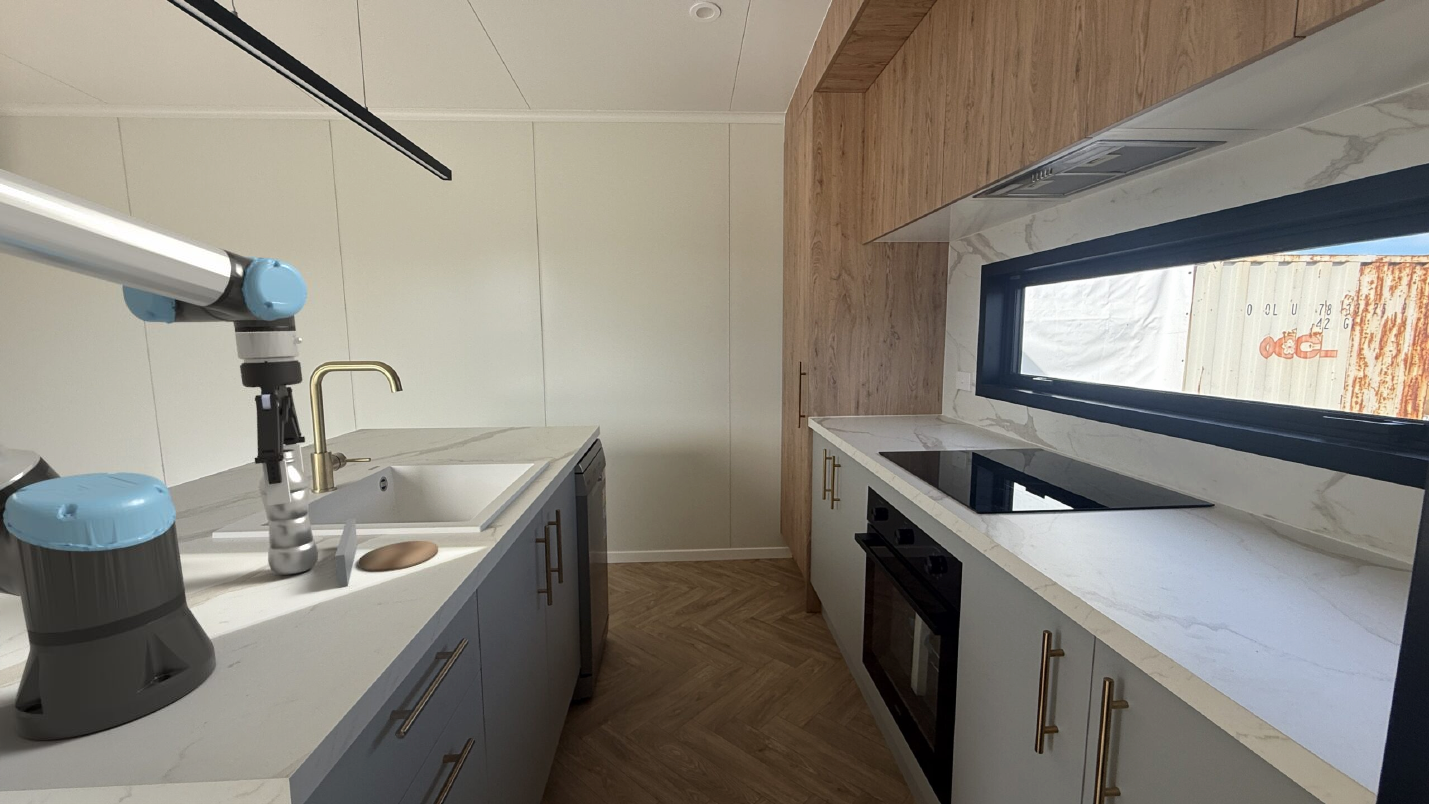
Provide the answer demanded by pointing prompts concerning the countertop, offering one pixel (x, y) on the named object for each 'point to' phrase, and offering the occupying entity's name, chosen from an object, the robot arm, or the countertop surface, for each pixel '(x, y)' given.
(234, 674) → the countertop surface
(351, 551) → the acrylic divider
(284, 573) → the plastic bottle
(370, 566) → the walnut coaster
